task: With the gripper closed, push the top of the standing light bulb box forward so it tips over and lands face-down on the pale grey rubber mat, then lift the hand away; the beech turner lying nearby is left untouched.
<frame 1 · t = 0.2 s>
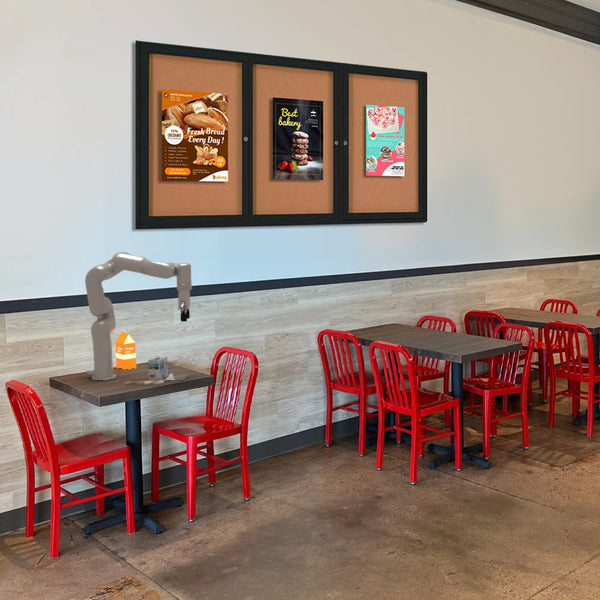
hand: (185, 319, 393), 31 cm above the table, tool pointing down, fingers open, 9 cm apart
light bulb box: (158, 378, 397), on the table
orange juice: (126, 368, 423), on the table
beech turner: (145, 383, 387), on the table
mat: (177, 377, 398), on the table
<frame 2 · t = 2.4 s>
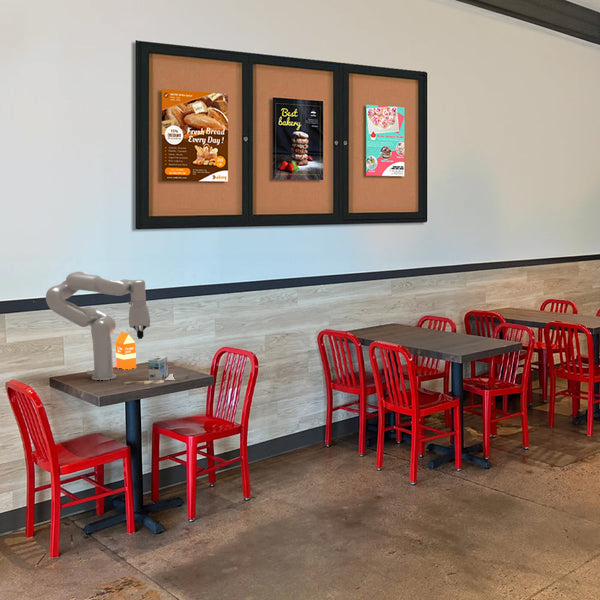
hand: (140, 338, 395), 21 cm above the table, tool pointing down, fingers closed
nothing on the table moved.
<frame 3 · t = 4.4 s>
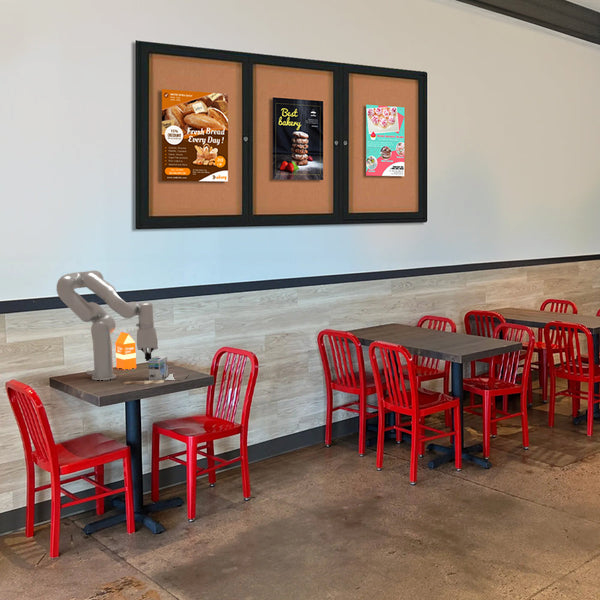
hand: (148, 360, 396), 9 cm above the table, tool pointing down, fingers closed
light bulb box: (158, 378, 397), on the table, touching gripper
everything else where it was.
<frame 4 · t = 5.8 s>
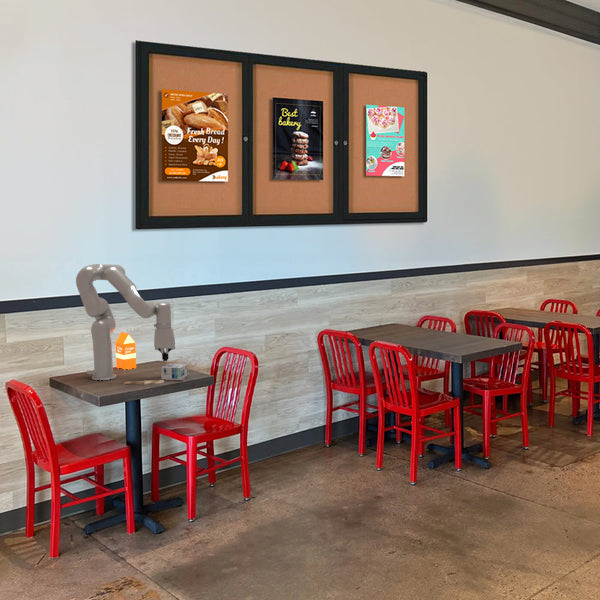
hand: (165, 360, 396), 9 cm above the table, tool pointing down, fingers closed
light bulb box: (164, 371, 396), point 4 cm above the table, touching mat
everything else where it was.
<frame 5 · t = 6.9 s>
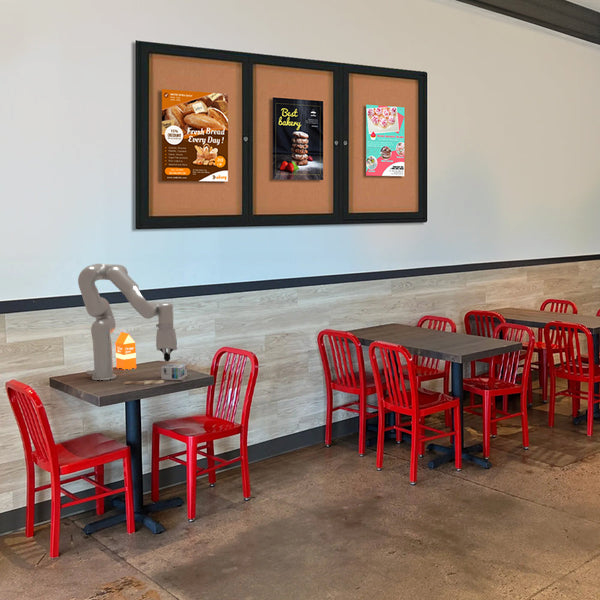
hand: (167, 361, 396), 9 cm above the table, tool pointing down, fingers closed
nothing on the table moved.
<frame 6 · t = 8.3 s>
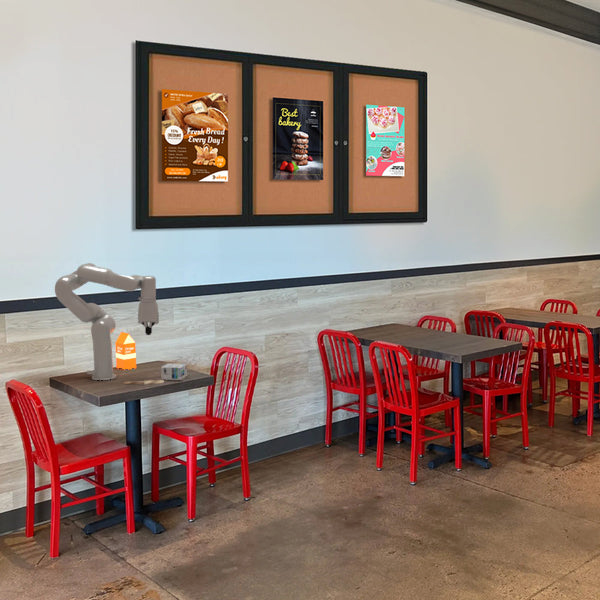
hand: (148, 334, 395), 23 cm above the table, tool pointing down, fingers closed
nothing on the table moved.
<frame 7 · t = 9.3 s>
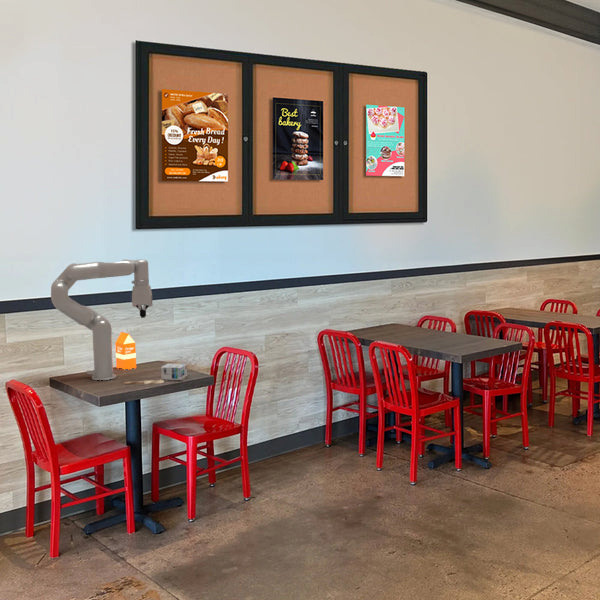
hand: (143, 317, 402), 31 cm above the table, tool pointing down, fingers closed
nothing on the table moved.
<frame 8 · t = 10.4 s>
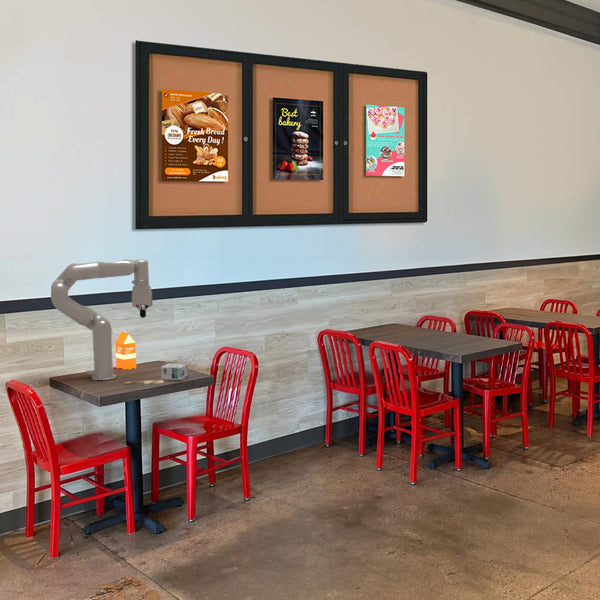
hand: (143, 317, 402), 31 cm above the table, tool pointing down, fingers closed
nothing on the table moved.
at the end: light bulb box tilted 91°; light bulb box inside the target area (6.4 cm from its centre), point 3.8 cm above the table; beech turner moved 0.1 cm from its start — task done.
